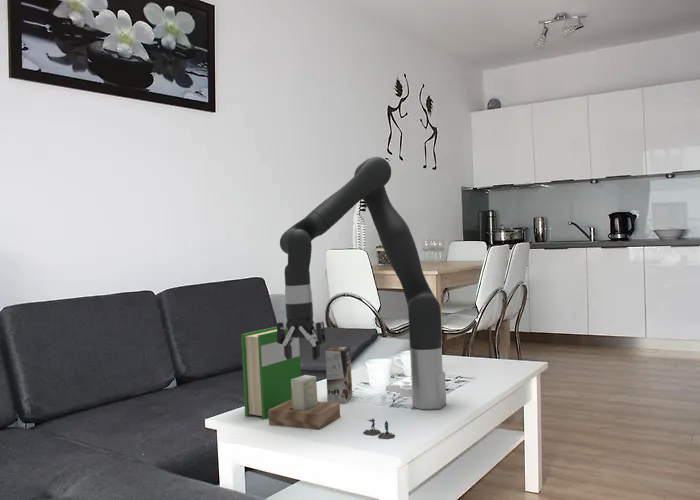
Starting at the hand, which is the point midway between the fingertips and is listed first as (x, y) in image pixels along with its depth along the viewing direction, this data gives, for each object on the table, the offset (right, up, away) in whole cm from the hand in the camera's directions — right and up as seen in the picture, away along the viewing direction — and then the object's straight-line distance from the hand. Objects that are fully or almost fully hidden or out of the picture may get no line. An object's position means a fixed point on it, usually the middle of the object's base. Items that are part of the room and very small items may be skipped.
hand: (302, 359), depth 174 cm
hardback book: (-9, -18, +13) cm, 24 cm away
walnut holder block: (+1, -17, 0) cm, 17 cm away
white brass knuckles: (+34, -16, +29) cm, 47 cm away
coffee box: (+10, -17, +22) cm, 30 cm away
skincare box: (+1, -17, 0) cm, 18 cm away
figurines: (+21, -17, -15) cm, 31 cm away
